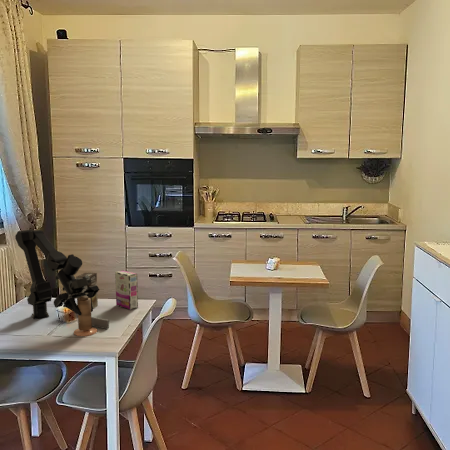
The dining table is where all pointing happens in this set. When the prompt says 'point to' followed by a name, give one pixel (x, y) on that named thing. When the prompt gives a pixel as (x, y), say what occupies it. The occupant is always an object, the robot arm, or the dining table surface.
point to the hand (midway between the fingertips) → (86, 313)
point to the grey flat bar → (100, 322)
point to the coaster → (85, 332)
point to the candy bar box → (126, 289)
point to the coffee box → (93, 282)
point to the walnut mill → (84, 313)
